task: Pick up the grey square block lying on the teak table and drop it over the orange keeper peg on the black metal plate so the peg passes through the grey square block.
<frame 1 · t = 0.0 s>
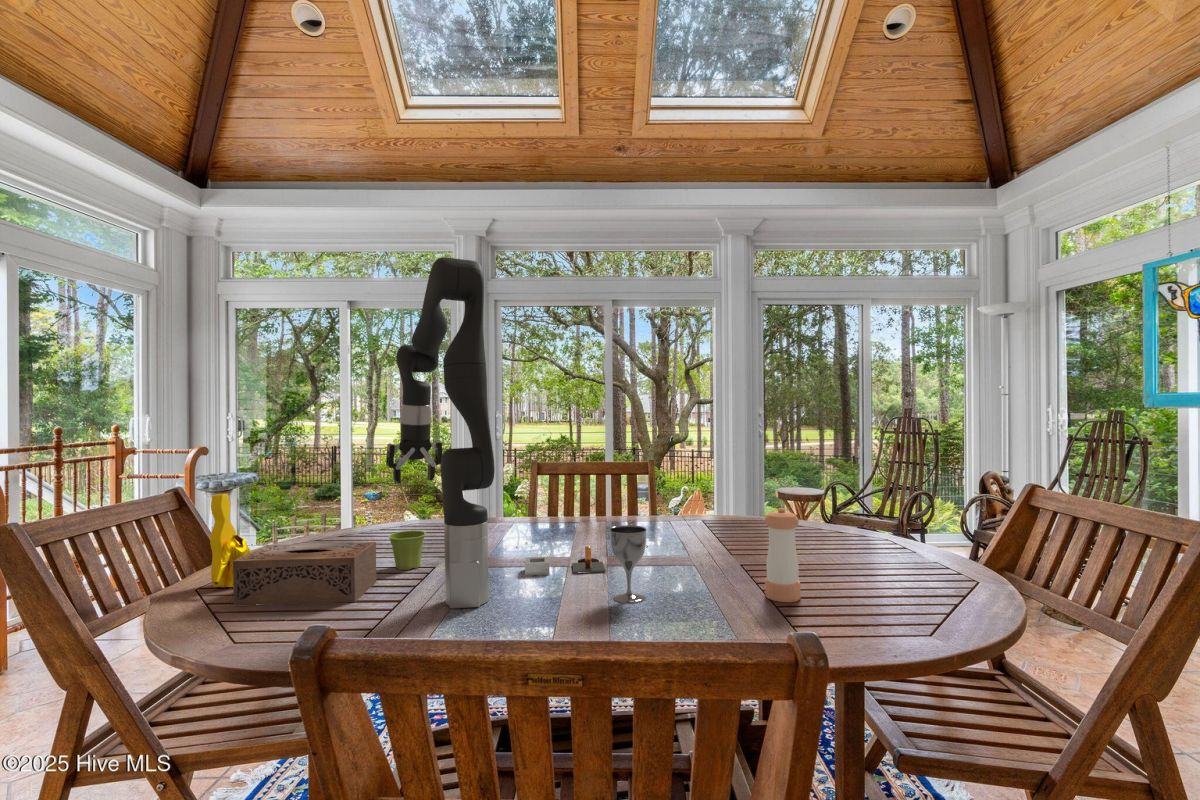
hand: (414, 481, 160), 22 cm above the table, tool pointing down, fingers open, 8 cm apart
wine glass: (629, 598, 131), on the table
plant pot: (408, 568, 158), on the table
pepper shaker: (782, 597, 130), on the table
tissue box cover: (309, 595, 138), on the table
grey square block: (537, 572, 152), on the table
keeper: (588, 568, 154), on the table
figure statuette: (230, 586, 145), on the table
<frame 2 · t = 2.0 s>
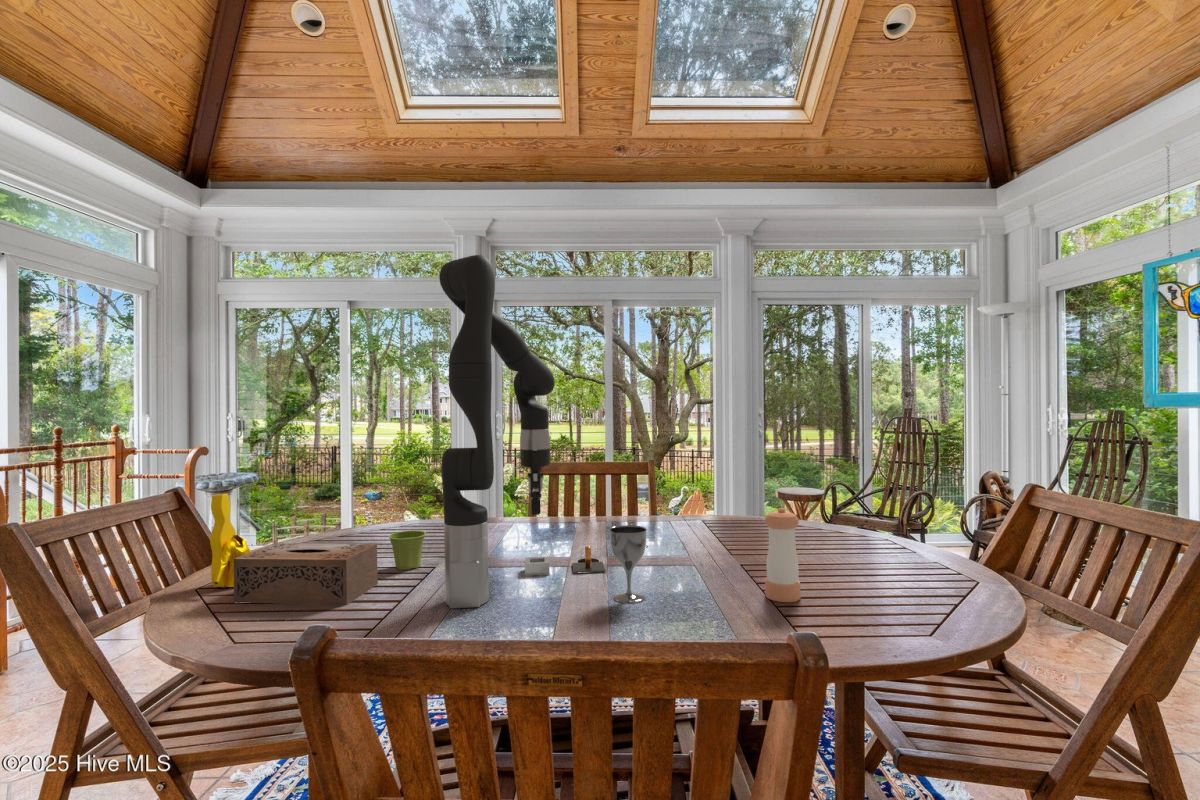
hand: (536, 511, 152), 15 cm above the table, tool pointing down, fingers open, 8 cm apart
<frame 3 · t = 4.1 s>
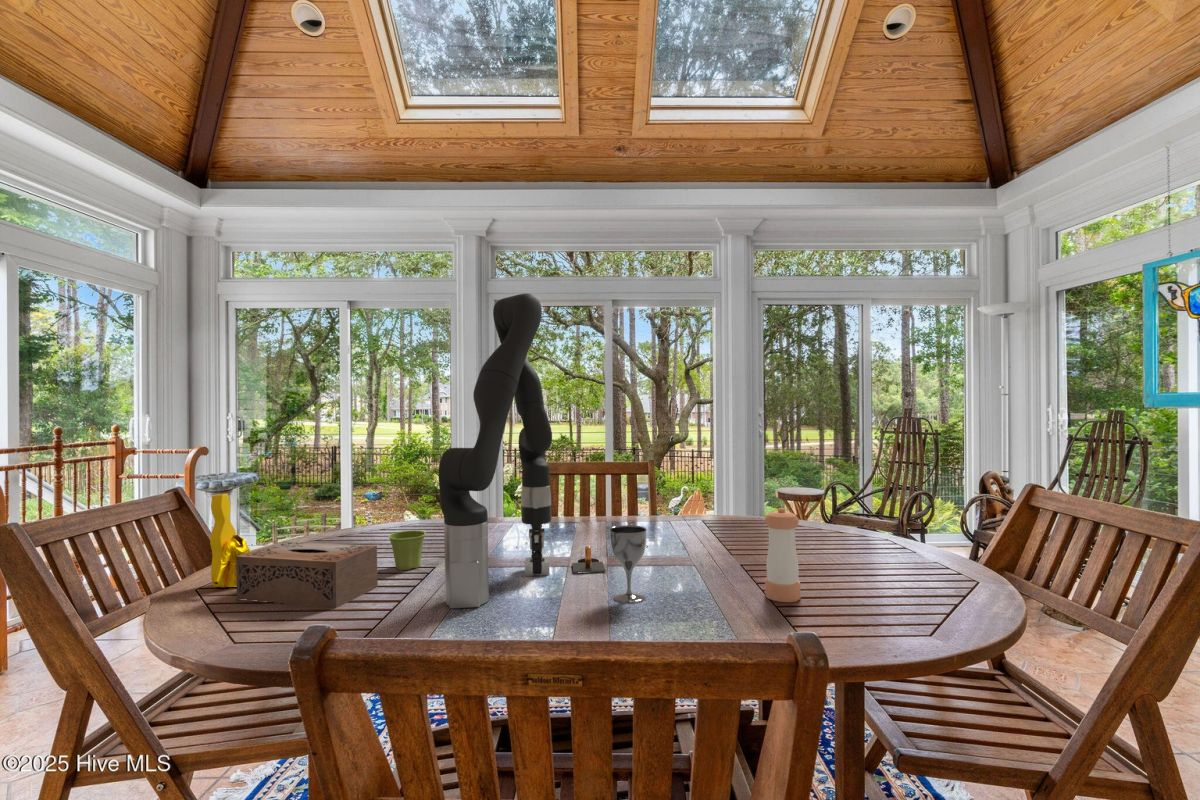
hand: (537, 569, 152), 1 cm above the table, tool pointing down, fingers closed on grey square block, 6 cm apart
grey square block: (537, 572, 152), on the table, touching gripper
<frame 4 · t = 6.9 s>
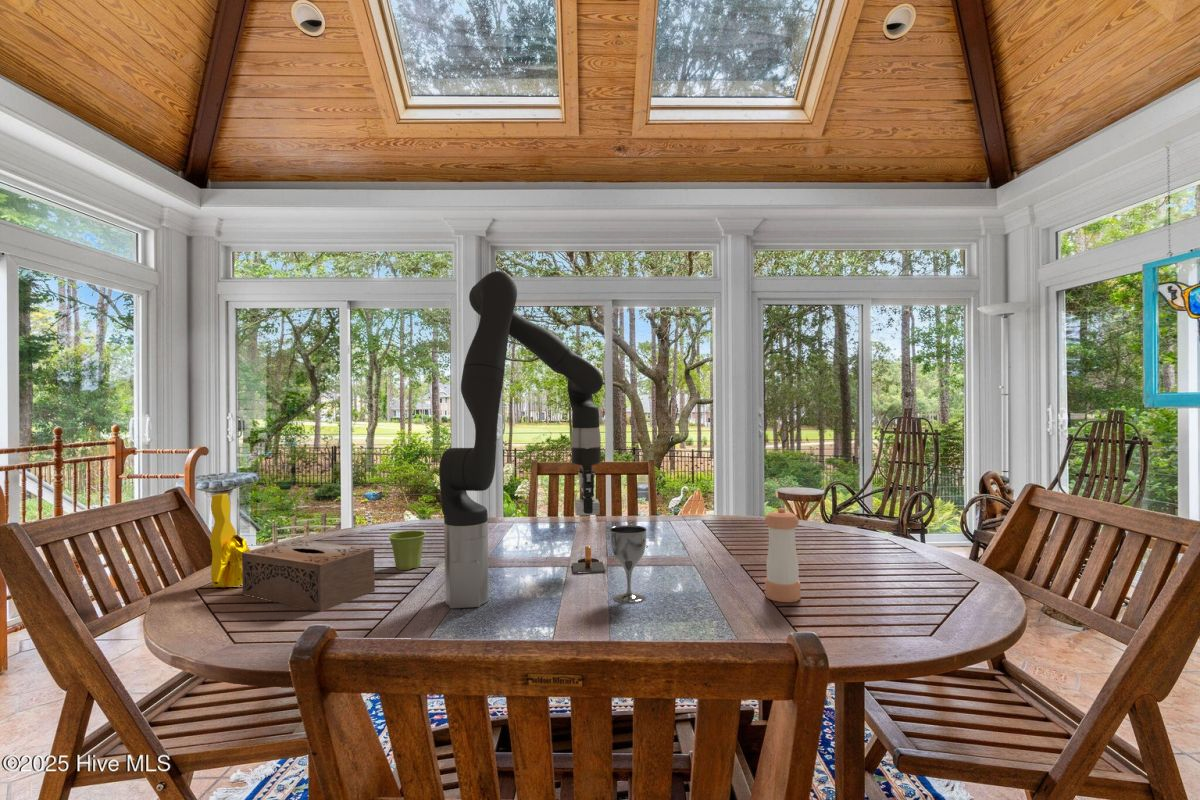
hand: (587, 510, 154), 15 cm above the table, tool pointing down, fingers closed on grey square block, 6 cm apart
grey square block: (587, 512, 154), point 14 cm above the table, touching gripper
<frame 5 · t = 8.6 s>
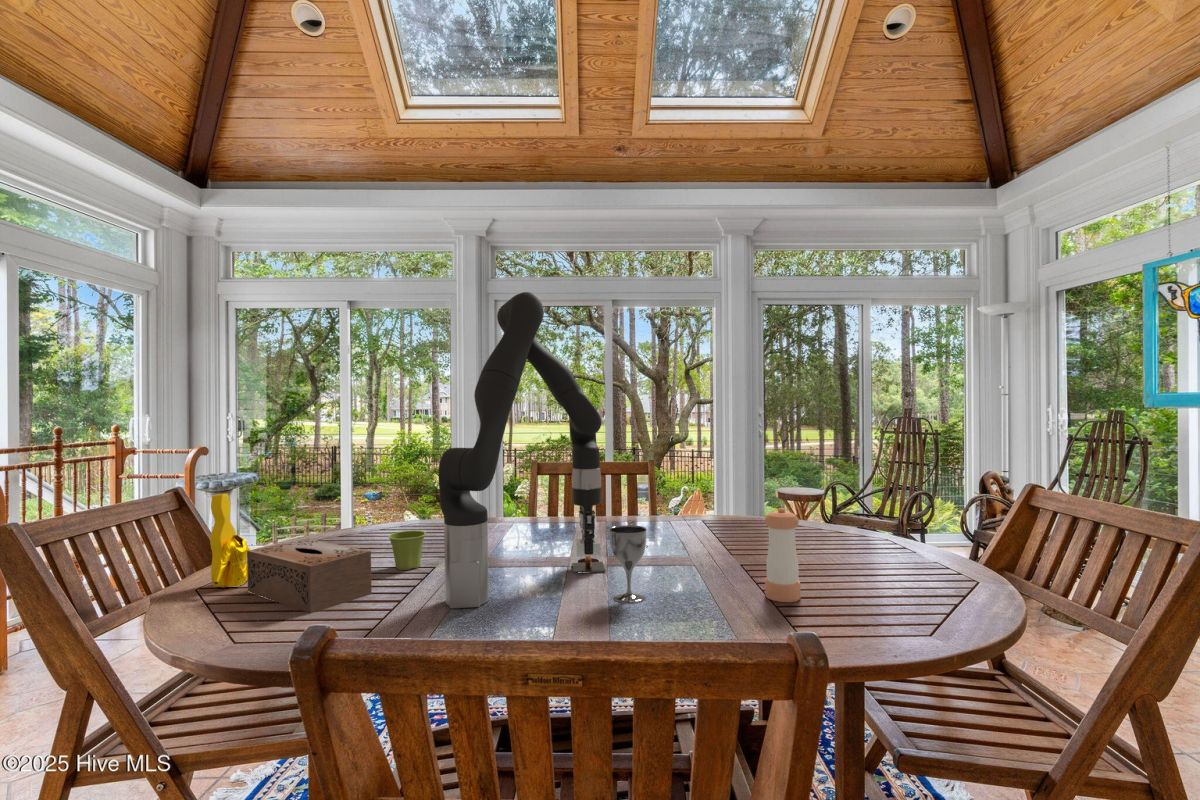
hand: (587, 550, 154), 5 cm above the table, tool pointing down, fingers closed on grey square block, 6 cm apart
grey square block: (587, 553, 154), point 4 cm above the table, touching gripper
when the fingers open (4 cm above the table, at t = 9.7 s): grey square block drops 3 cm, resting on keeper.
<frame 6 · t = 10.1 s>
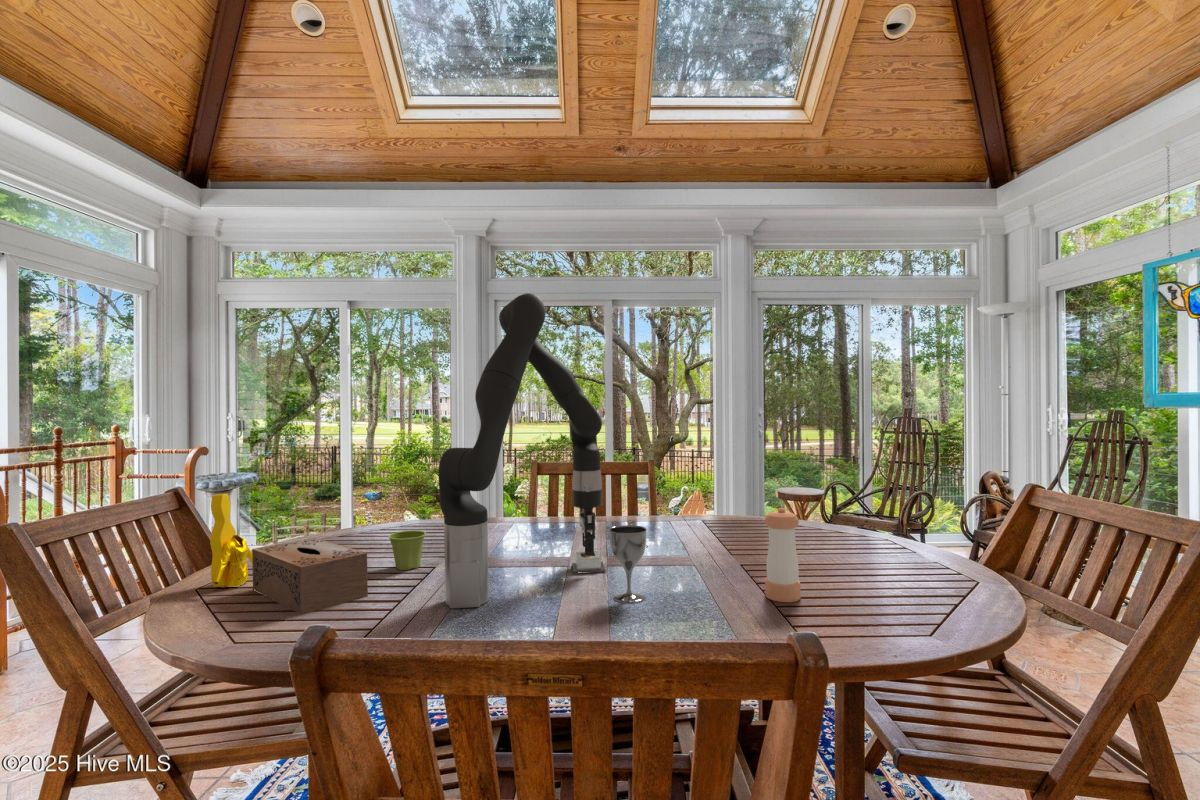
hand: (588, 550, 154), 5 cm above the table, tool pointing down, fingers open, 8 cm apart
grey square block: (588, 566, 154), point 1 cm above the table, touching keeper
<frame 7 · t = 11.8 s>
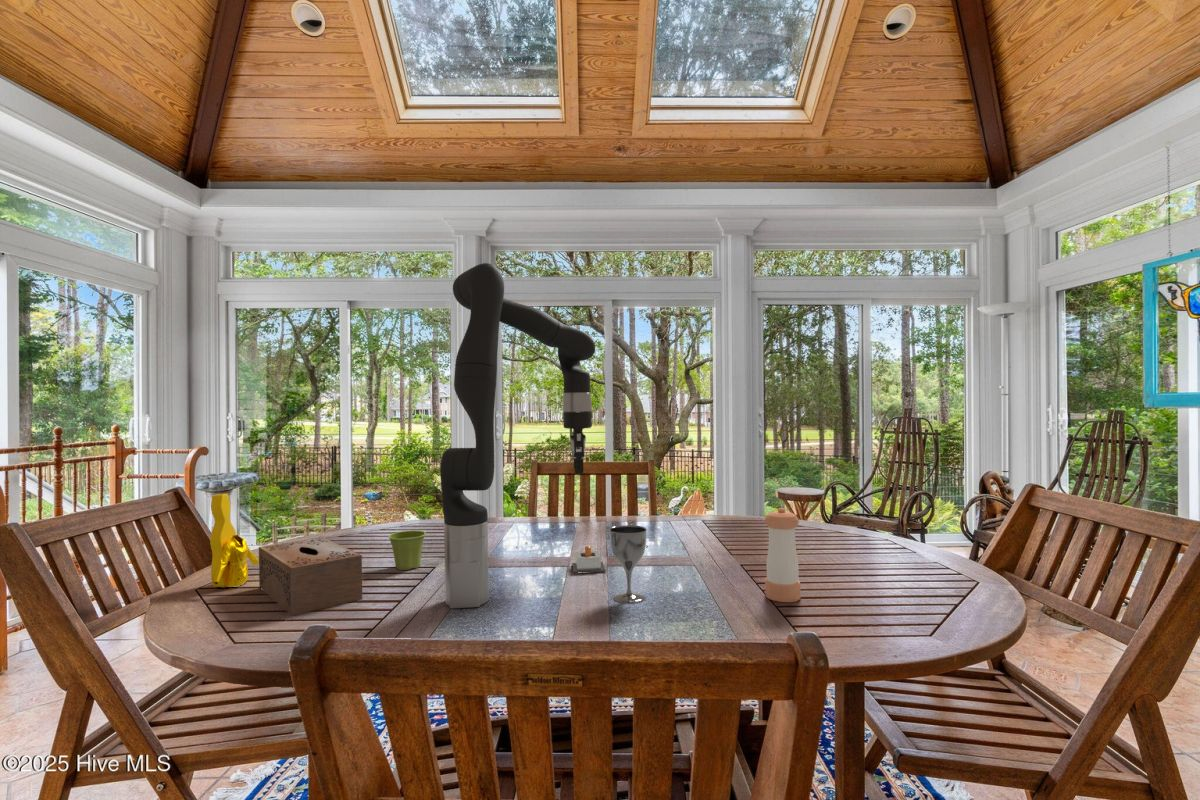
hand: (578, 471, 158), 24 cm above the table, tool pointing down, fingers open, 8 cm apart
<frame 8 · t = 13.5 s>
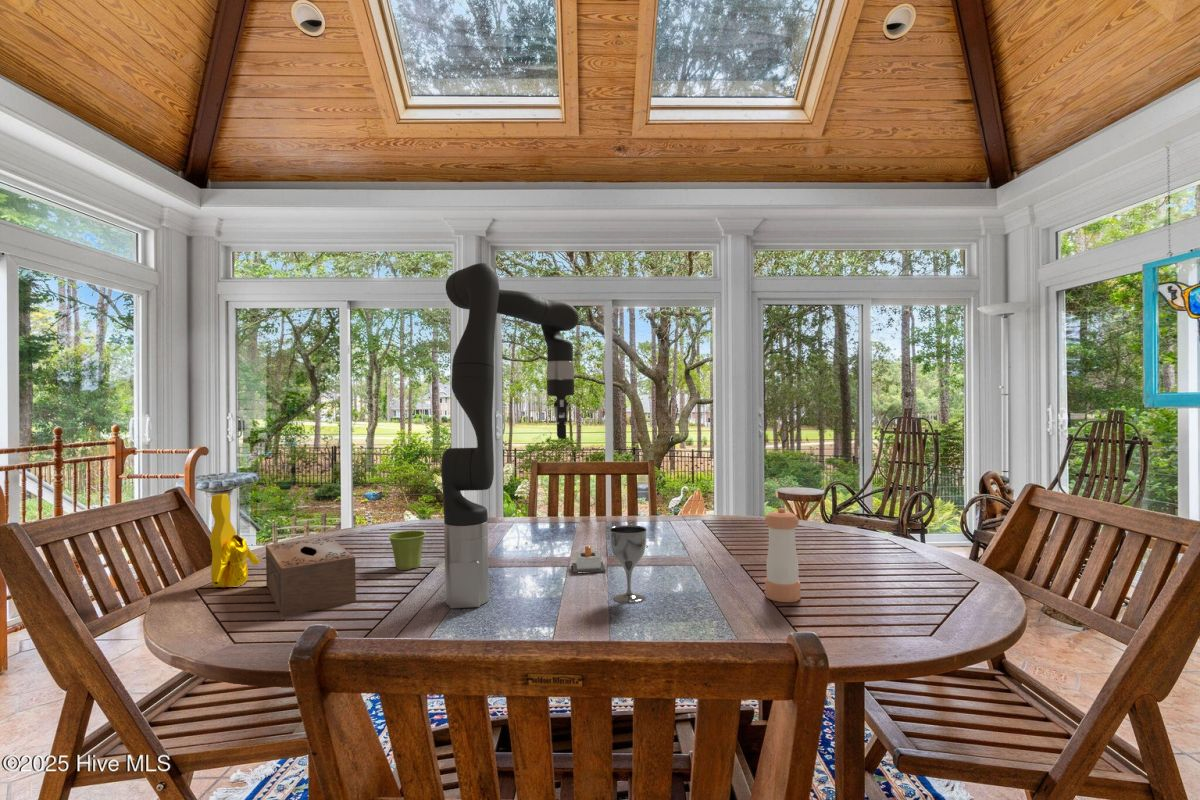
hand: (561, 437, 164), 33 cm above the table, tool pointing down, fingers open, 8 cm apart
at the end: grey square block 0.1 cm off-centre on the keeper, point 0.6 cm above the keeper's base; the gripper is holding nothing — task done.
